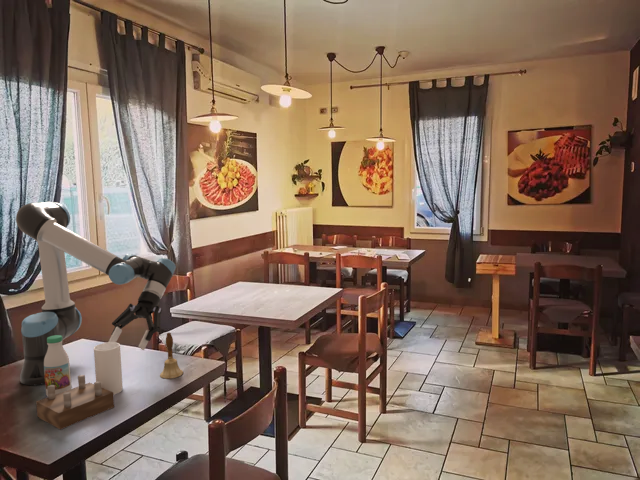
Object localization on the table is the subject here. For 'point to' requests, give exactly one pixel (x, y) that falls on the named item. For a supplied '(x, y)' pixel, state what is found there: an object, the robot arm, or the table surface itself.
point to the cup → (108, 366)
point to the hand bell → (170, 362)
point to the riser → (74, 404)
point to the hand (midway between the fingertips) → (125, 346)
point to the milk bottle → (57, 366)
